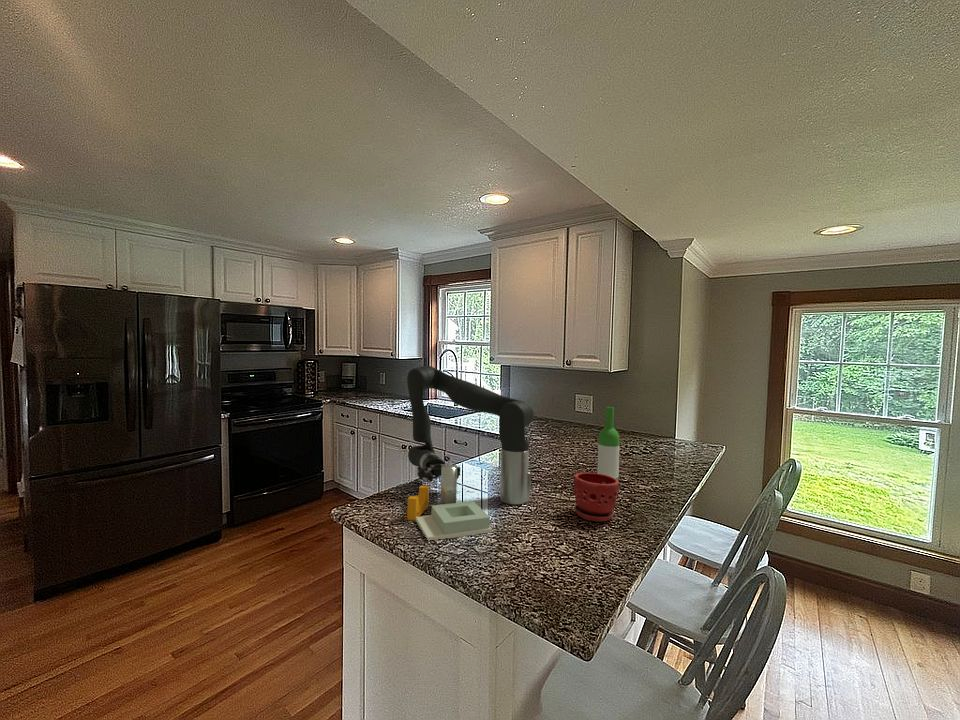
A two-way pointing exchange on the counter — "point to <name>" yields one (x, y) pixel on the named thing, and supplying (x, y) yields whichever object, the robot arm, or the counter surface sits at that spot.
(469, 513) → the pale green square frame
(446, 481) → the steel shaft
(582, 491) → the plant pot
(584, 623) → the counter surface
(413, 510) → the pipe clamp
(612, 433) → the wine bottle
